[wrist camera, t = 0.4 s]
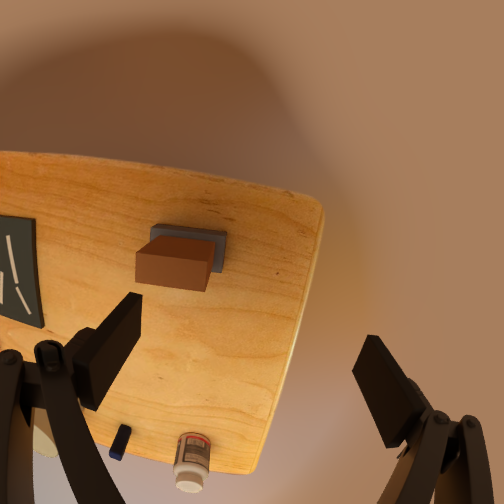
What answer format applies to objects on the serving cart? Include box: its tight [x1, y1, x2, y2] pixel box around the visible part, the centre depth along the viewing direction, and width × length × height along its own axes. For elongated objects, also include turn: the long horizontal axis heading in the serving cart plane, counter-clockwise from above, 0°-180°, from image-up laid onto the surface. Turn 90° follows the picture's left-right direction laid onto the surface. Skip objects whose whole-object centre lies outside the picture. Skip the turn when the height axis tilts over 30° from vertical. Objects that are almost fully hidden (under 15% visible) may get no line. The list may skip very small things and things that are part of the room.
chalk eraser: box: [135, 224, 227, 292], centre depth 28 cm, size 4×8×10 cm, turn 82°
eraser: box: [109, 424, 131, 461], centre depth 37 cm, size 2×2×7 cm
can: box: [33, 398, 84, 458], centre depth 33 cm, size 9×9×12 cm
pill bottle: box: [173, 433, 210, 493], centre depth 36 cm, size 5×5×10 cm
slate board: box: [0, 215, 45, 329], centre depth 32 cm, size 16×12×1 cm
